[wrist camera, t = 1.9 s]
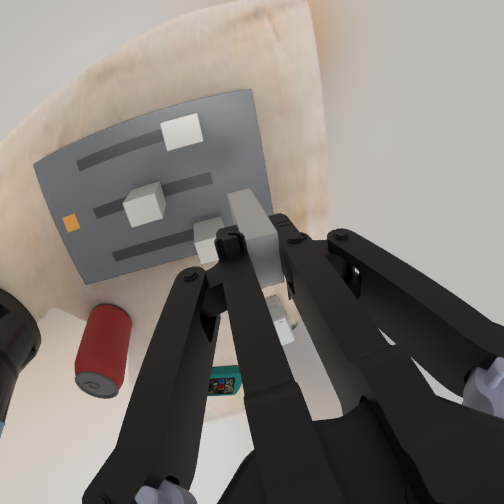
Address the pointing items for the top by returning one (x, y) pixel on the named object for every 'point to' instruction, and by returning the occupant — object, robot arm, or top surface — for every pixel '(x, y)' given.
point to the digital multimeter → (224, 381)
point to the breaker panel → (150, 171)
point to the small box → (280, 320)
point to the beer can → (103, 352)
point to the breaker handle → (145, 204)
